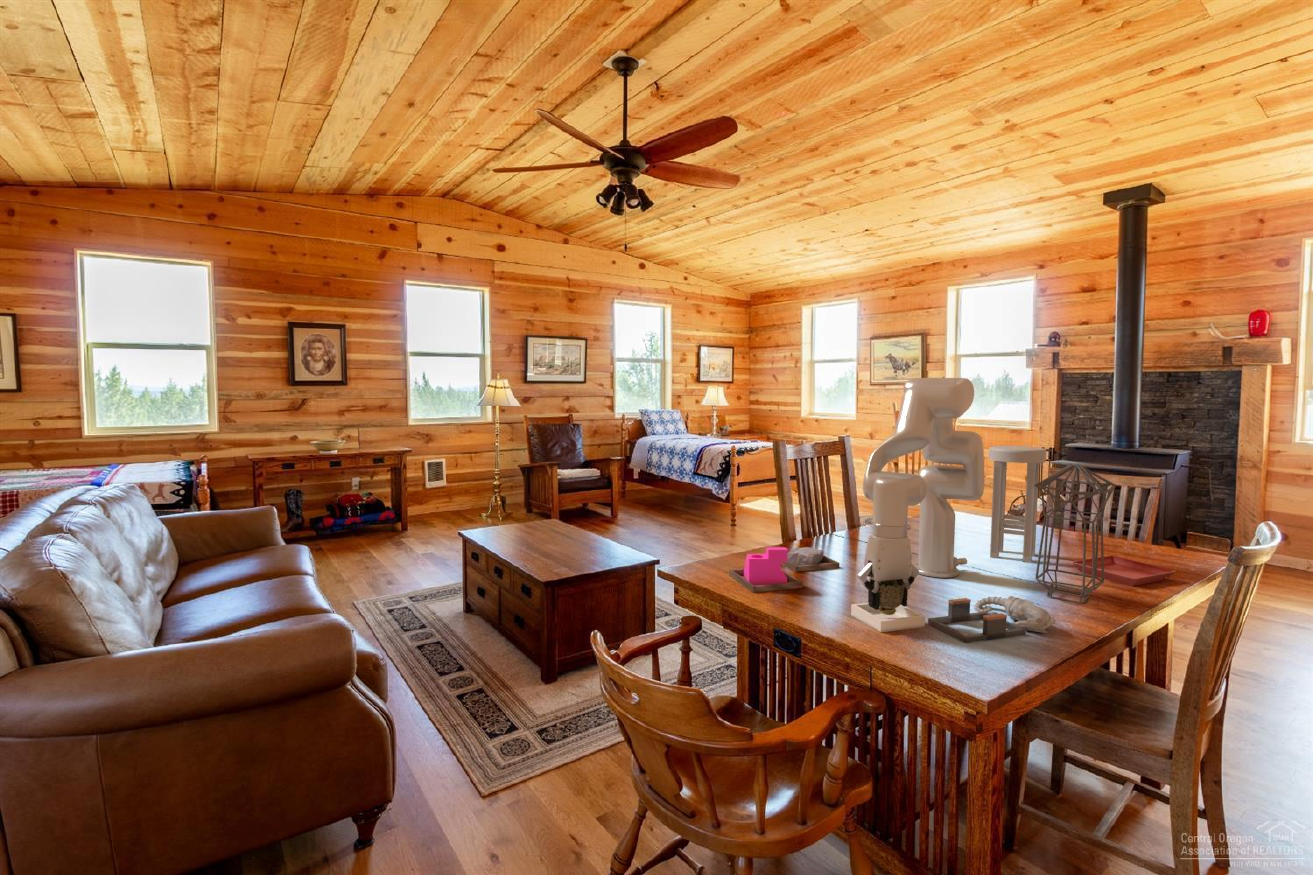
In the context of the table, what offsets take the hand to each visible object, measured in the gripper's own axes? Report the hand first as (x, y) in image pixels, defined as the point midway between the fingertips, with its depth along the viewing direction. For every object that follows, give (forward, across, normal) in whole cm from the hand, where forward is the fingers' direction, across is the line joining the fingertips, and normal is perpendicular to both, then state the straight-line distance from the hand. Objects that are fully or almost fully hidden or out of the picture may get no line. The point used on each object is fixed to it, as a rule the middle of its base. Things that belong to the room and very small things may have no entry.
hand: (887, 605), depth 150 cm
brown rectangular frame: (+4, -6, -50) cm, 50 cm away
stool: (+4, -74, -38) cm, 83 cm away
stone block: (+4, -5, -50) cm, 50 cm away
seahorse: (+4, -28, +8) cm, 30 cm away
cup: (+2, 0, 0) cm, 2 cm away
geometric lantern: (+4, -55, -1) cm, 55 cm away
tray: (+4, 0, 0) cm, 4 cm away
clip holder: (+4, -16, +10) cm, 19 cm away
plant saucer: (+5, -87, -12) cm, 88 cm away
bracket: (+4, +14, -36) cm, 39 cm away
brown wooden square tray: (+4, +14, -36) cm, 39 cm away
